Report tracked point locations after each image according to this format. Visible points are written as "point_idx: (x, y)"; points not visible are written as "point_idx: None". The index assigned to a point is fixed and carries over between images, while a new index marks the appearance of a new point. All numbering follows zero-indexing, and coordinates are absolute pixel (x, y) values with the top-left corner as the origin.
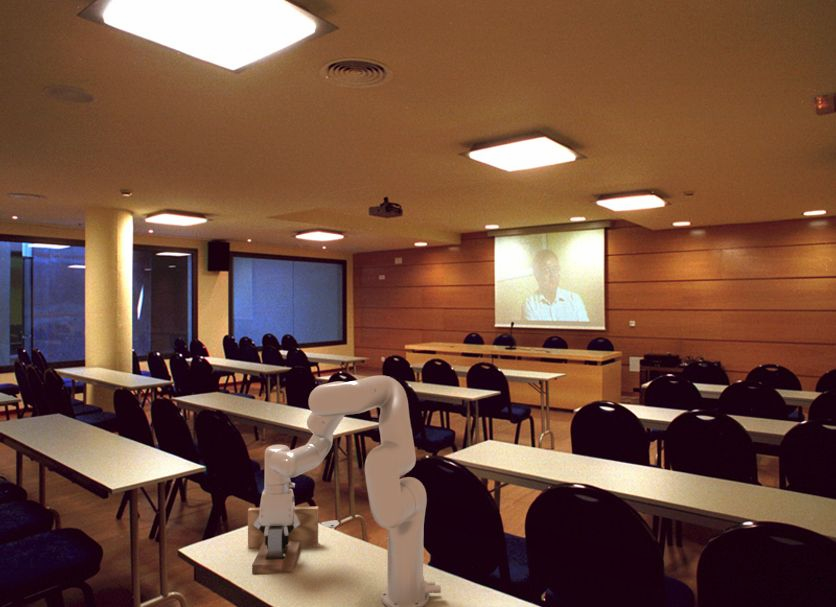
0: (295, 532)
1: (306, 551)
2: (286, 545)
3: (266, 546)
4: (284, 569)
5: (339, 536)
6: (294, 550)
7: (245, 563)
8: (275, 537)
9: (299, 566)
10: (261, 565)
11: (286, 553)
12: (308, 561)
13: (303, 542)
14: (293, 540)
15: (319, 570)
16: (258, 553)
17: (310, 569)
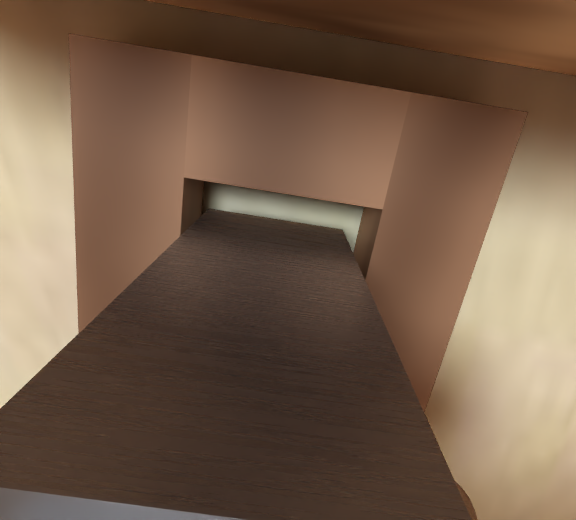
0: (529, 4)
1: (527, 188)
2: (353, 202)
3: (133, 183)
4: None
5: None
6: (426, 336)
7: (24, 293)
8: None
9: (427, 412)
10: None
11: None
12: (503, 361)
13: (550, 61)
14: (445, 34)
15: (546, 481)
16: (85, 323)
17: (492, 460)
